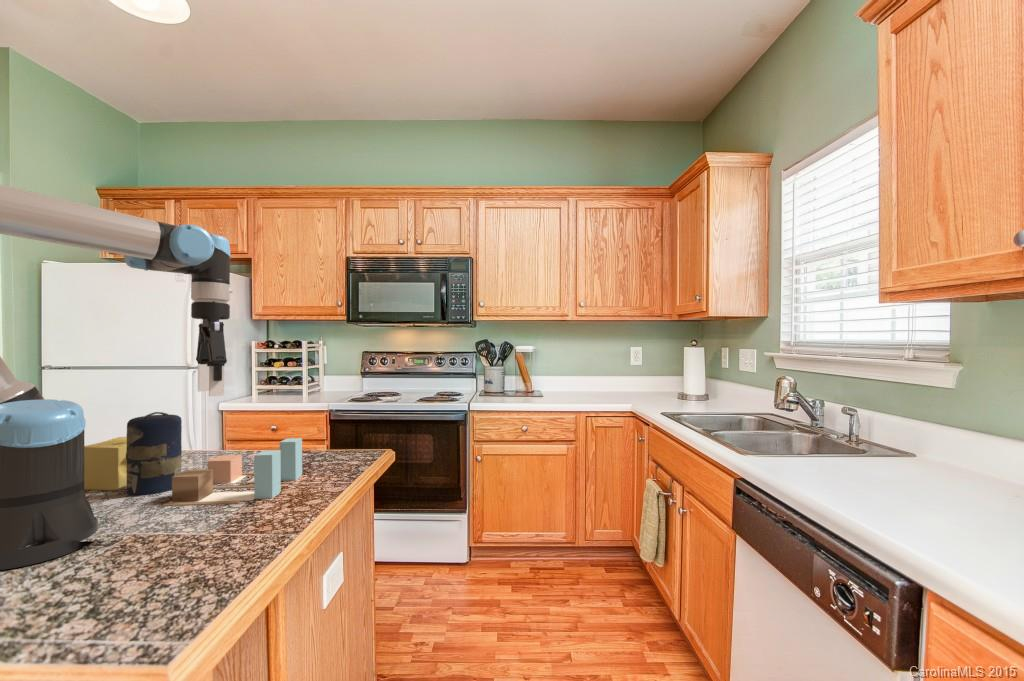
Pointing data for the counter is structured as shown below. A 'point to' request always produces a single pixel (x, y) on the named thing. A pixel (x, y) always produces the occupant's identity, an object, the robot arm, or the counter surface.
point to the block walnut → (192, 485)
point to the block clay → (226, 468)
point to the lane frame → (215, 501)
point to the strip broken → (288, 460)
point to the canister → (153, 453)
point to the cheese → (105, 465)
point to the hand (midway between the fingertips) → (210, 393)
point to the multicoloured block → (256, 480)
